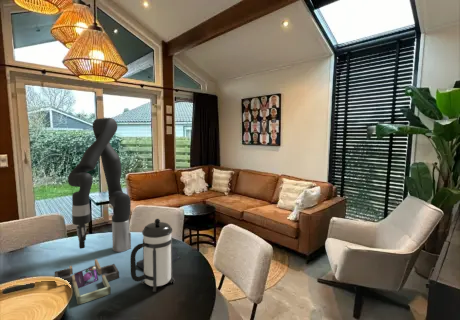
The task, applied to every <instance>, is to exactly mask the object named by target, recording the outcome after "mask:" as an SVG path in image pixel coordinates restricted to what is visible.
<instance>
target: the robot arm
mask: <svg viewBox="0 0 460 320" xmlns="http://www.w3.org/2000/svg"><path fill="white" fill-rule="evenodd" d="M117 130H118V123H117V121H116V119H114V118H113V117H102V118H95V119H94V120H93V122H92V131H93V134H94V138H95V141H93V143H91V144H90V145H89V147H87V149H86V150H85V152H84V153H83V155H82V157H81V159H80V161H79V162H78V164H77V165H76V166H75V167H74V168H73V169H72V170H71V172H69V175H68V177H67V183H68V184H69V186H71V187H75V188H77V187H78V188H79V190H78V191H75V192H73V193H72V195H71V198H72V199H71V201H72V203H71V205H72V207H71V221H72V223H71V224H72V225H75V227H76V228H75V229H76V235H77V238H78V239H77V240H78V248H79V249H81V250H82V249H84V248H85V247H86V244H85V243H86V242H85V241H86V240H87V225H86V224H89V223H90V222H91V207H90V192H91V190H92V186H93V182H94V181H93V180H94V179H93V177H92V174H90V173H88V172H92V171H93V170H95V168H96V165H97V164H98V162H99V159H100V160H101V164H102V169H103V174H104V177H105V181H106V186H107V193H108V194H107V195H108V202H109V204H110V205H111V206H112V207H113V208H114V211H113V213H114V214H112V216H111V231H112V233H111V235H112V236H111V237H112V239H111V240H112V251H114V252H115V253H121V252H126V251H127V250H129V249H132V234H131V233H132V232H131V231H130V216H131V197H130V195H129V194H127V193H126V192H123V189H122V185H121V184H122V183H121V176H122V170H123V169H122V164H121V158H120V156H119V154H118V153H117V152H116V150H115V148H113V147H112V145H111V140H112V138H113V137H114V136H115V134H116V133H117Z"/></svg>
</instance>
